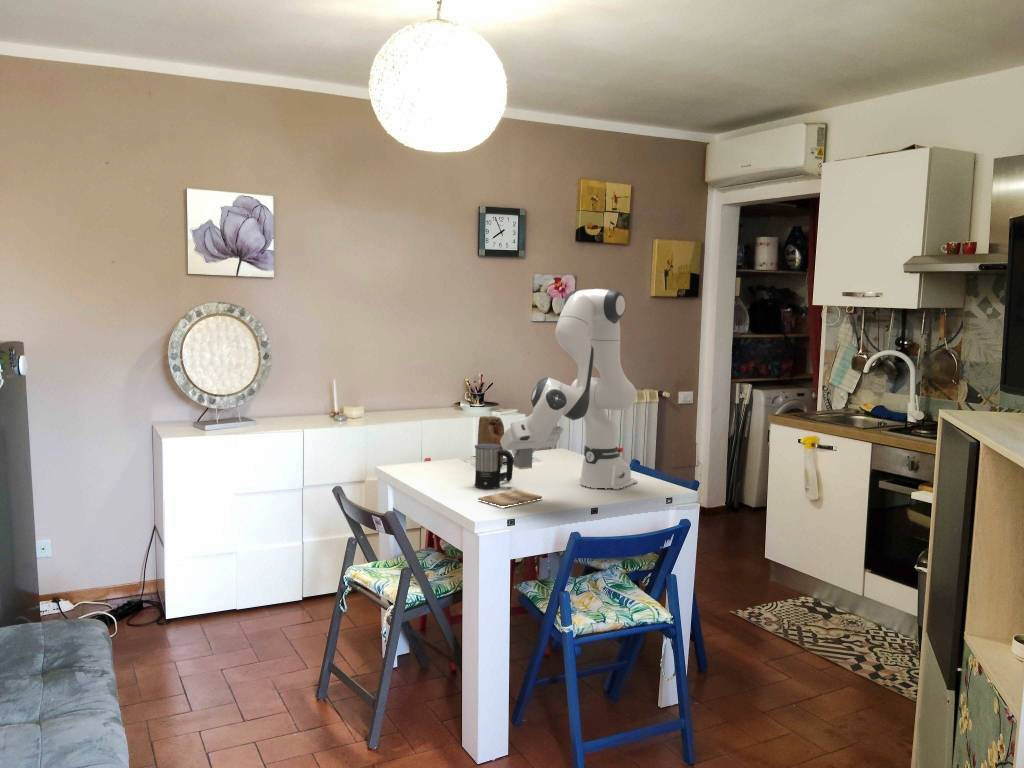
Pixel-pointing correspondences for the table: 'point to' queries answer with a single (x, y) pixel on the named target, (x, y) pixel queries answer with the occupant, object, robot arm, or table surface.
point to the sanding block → (523, 459)
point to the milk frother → (491, 466)
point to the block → (490, 431)
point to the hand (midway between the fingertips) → (522, 452)
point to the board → (510, 498)
